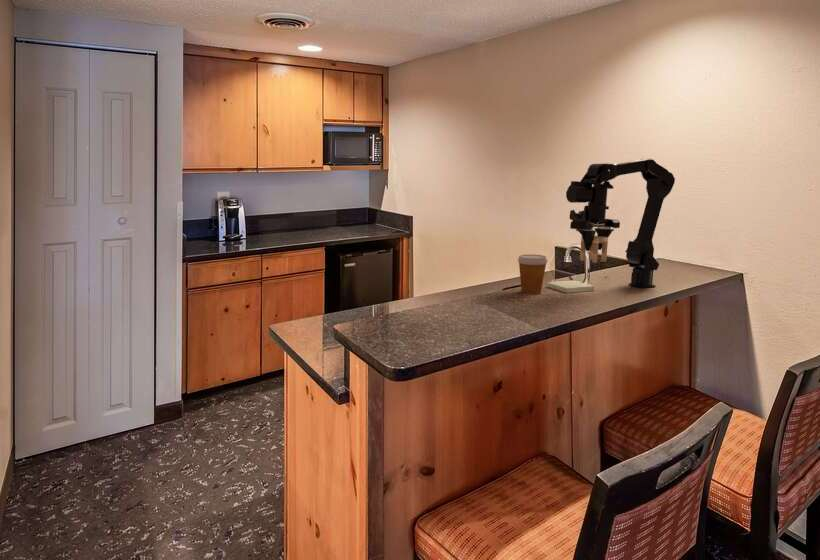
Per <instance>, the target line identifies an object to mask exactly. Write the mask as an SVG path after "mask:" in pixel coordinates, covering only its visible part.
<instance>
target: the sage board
mask: <svg viewBox="0 0 820 560" xmlns="http://www.w3.org/2000/svg"><path fill="white" fill-rule="evenodd" d="M546 287H547V288H550V289H553V290H557V291H559V292H563V293H565V294H567V293H580V292H591V291H593V292H594V291H595V285H592V284H588V283H585V282H581V281H578V280H574V279H573V280H561V281H549V282H547V283H546Z"/></svg>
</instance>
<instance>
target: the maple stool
mask: <svg viewBox="0 0 820 560" xmlns="http://www.w3.org/2000/svg"><path fill="white" fill-rule="evenodd" d="M599 243H602V249H601V256H600V262H604V263H605V262H606V263H607V256H608V245H609V237H601V236H597V235H595V236H594V239H593V242H592V246H591V248H590V251H588V253H589V254H588V260H591V263H594V264H597V263H598V256H599V250H598V245H599ZM579 250H580V253H579V261H581V262H584V261H586V248H585V244H584V241H583V237H582V235H581V237H580V249H579Z"/></svg>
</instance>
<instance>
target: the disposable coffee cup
mask: <svg viewBox="0 0 820 560" xmlns="http://www.w3.org/2000/svg"><path fill="white" fill-rule="evenodd" d="M517 261H518V266H519V268H518V269H519V279H520V289H521V293H522V294H525V295H541V293H542V291H543V290H542V289H543V284H544V279H545V278H544V277H545V272H546V265H547V264H548V263H547V262H548V258H547V256H546V255H544V254H543V255H542V254H532V253H531V254H521V255H519V257H518V258H517Z"/></svg>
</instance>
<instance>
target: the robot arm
mask: <svg viewBox="0 0 820 560" xmlns="http://www.w3.org/2000/svg"><path fill="white" fill-rule="evenodd" d="M636 173H640V174H641V177H642V179H643V180H645V182H646V186H645V189H646V193H647V200H646V203H645V206H644V207H645V208H644V212H643V214H642V218H641V221H640V223H639V229H638V231H637V235H636V237H635V239H634V240H629V241H628V243H627V248H626V250H625V253H626V254H625V257H626V259H627V263H628V267H630V268H632V272H631V276H630V277H631V278H630V279H631V280H630V282H629V283H628V285H629V286H632V287H636V288H640V289H642V288H643V289H644V288H655V287H656V285H655V284H653V280H654V279H653V278H654V272H655V271H658V269H659V266H660V263H659V262H658V261H657V259H656V258H655V257H654V252H655V248H654V243H653V238H654V236H655V231H656V227H657V225H658V220H659V218H660V213H661V210H662V206H663V203H664V200H665V199H666V198H667V196H668V195H669V194H670V193H671V192H672V190H673V188H674V185H675V181H676V178H675V175H674V174H673V173H672V172H671V171H669V170H668V169H667V168H666V167H664V166H662V165H660V164H658V163H657V162H656V161H655V159H652V158H640V159H637V160H631V161H625V162H620V163H619V162H618V163H592V164H590V165H589V166H588V168H587V171H586V173H585V174H584V176H583V177H582V178H581V179H580V181H578V180H571V182H570V185H569V186H568V187H567V190H566V192H565V196H566V197H565V198H566V200H567V202H568V203H571V204H574V203H577V204H578V203H579V204H580V203H584V204H585V203H587V205H584V207H583V210H578V209H571V210H569V219H570V220H571V222H570V226H569V227H570V228H569V229H572V230H575V231H577V232H578V233H579V234H580V235H581V236H582V237H583V241H584V244H585V248H586V251H587V252H589V251H590V248H591V246H592V242H593V239H594V236H601V237H608V238H609V237H610V235H611V234H612V232H614V231H615V229H620V227H621V222H620V220H619V219H618V218H615V219H614V218H606V211H607V210H610V209H609V208H610V206H609V205H607V199H608V190H611V189H612V190H613V189H614V185H612V184H611V182H610V181H612V180H614V179H616V178H617V177H619V176H623V175H624V176H625V175H630V174H636ZM596 234H597V235H596ZM598 251H602V243H599V245H598Z"/></svg>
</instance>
